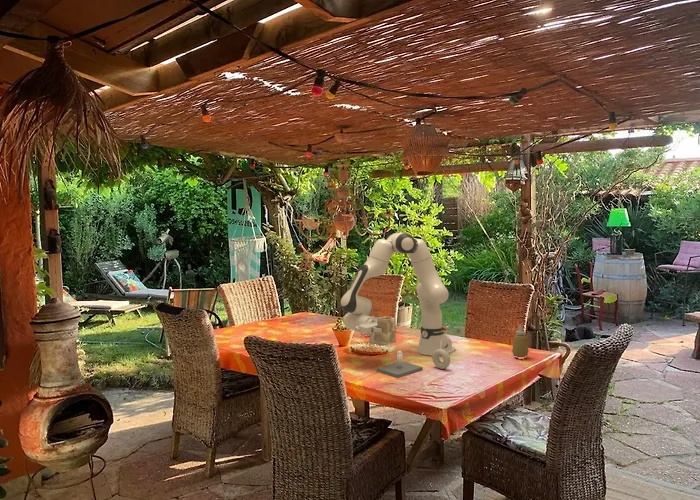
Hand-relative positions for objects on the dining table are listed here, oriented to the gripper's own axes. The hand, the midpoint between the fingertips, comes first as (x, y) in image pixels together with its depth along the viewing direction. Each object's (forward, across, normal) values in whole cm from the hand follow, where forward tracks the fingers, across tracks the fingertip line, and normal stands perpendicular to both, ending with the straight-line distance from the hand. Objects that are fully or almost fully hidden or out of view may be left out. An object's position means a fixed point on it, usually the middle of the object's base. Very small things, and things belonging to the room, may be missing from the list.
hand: (387, 329), depth 251 cm
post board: (+6, +2, +20) cm, 21 cm away
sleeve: (-1, 0, +7) cm, 7 cm away
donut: (+18, +19, +20) cm, 33 cm away
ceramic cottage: (-39, +35, +20) cm, 56 cm away
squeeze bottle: (+35, +64, +21) cm, 76 cm away
